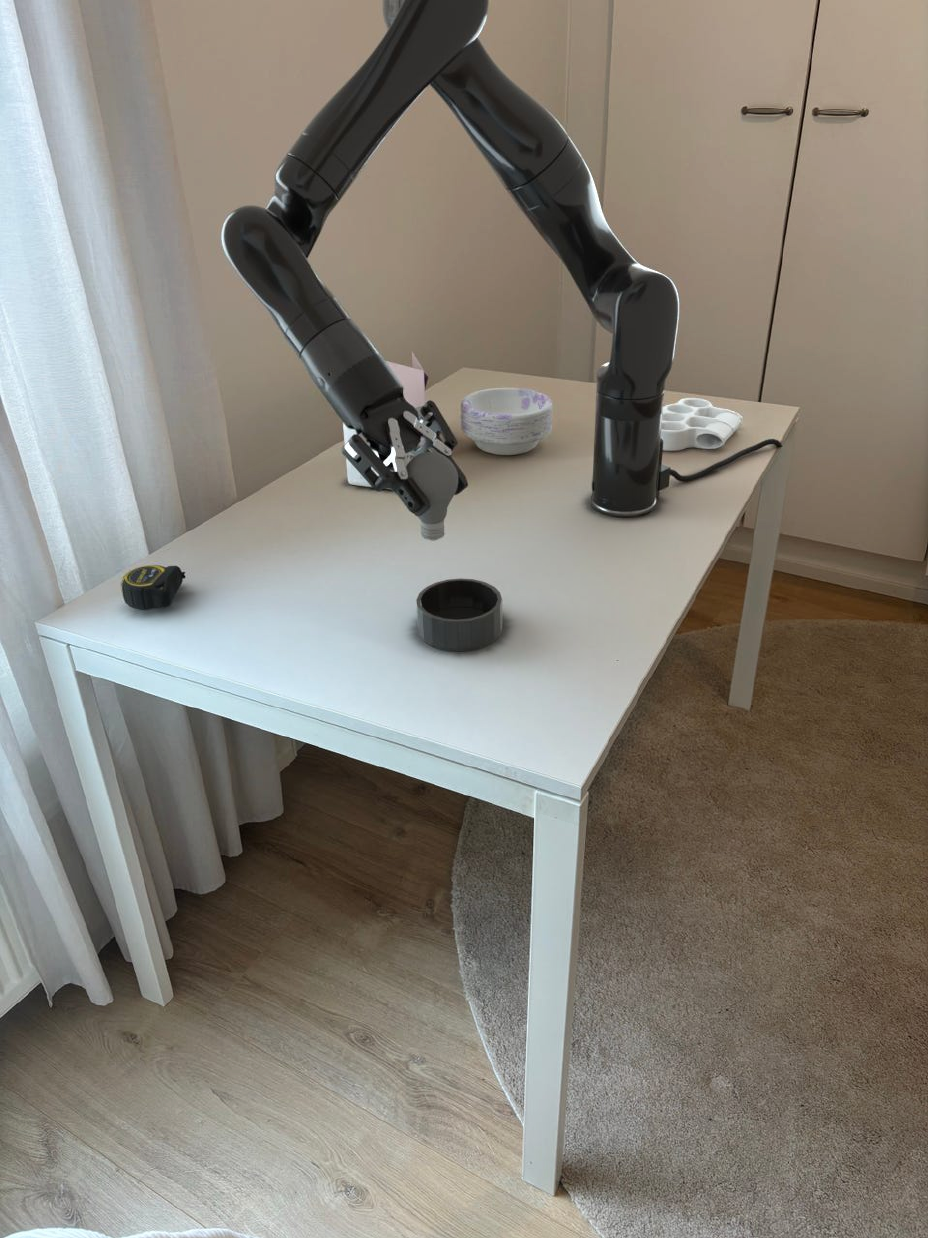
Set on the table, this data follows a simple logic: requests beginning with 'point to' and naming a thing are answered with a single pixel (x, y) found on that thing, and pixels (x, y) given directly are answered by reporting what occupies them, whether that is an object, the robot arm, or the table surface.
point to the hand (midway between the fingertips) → (443, 500)
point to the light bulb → (434, 489)
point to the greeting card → (412, 382)
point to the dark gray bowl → (459, 614)
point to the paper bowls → (506, 419)
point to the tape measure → (151, 586)
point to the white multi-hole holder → (697, 425)
